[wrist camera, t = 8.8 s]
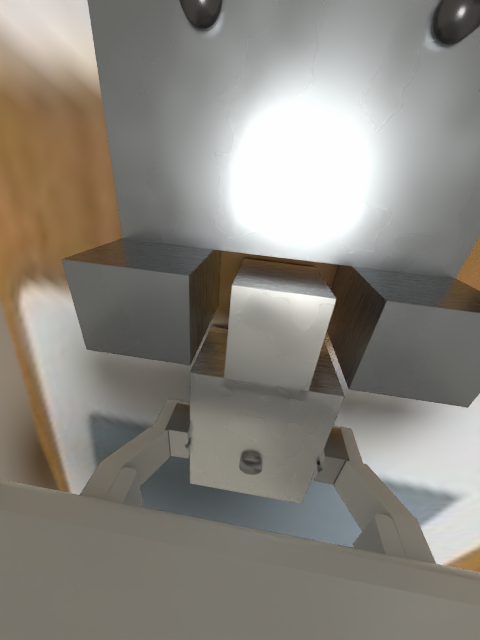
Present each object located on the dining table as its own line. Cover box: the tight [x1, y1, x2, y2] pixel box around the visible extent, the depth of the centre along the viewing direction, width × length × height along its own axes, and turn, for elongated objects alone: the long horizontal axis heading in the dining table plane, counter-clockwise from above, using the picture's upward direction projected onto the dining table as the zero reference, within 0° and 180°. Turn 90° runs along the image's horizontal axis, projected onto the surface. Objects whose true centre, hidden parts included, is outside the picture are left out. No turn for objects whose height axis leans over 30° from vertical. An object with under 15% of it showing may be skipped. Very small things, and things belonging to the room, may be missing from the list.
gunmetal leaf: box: [62, 0, 480, 407], centre depth 7 cm, size 12×12×4 cm
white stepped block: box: [190, 258, 345, 504], centre depth 11 cm, size 10×6×4 cm, turn 175°
